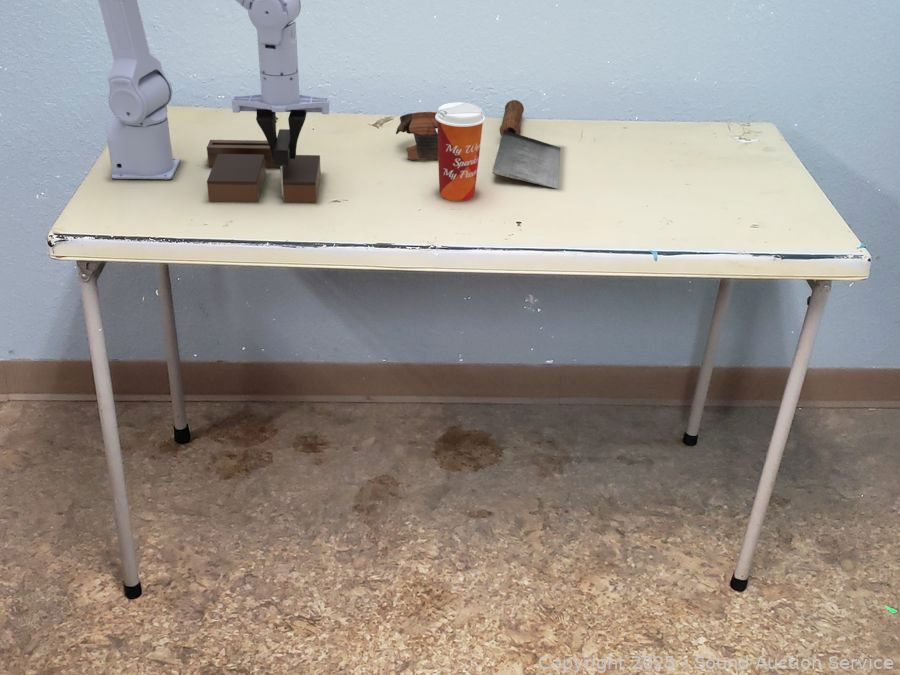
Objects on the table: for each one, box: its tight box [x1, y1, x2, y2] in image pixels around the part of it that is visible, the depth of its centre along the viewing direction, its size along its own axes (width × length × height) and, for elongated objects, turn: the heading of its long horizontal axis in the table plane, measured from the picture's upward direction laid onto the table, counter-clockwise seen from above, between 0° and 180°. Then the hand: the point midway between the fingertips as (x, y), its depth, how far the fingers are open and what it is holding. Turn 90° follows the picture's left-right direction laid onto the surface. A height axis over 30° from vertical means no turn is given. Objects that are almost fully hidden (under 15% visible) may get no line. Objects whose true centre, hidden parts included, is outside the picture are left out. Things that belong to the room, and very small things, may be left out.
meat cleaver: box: [491, 99, 562, 190], centre depth 170 cm, size 34×11×4 cm, turn 174°
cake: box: [206, 154, 267, 203], centre depth 151 cm, size 8×11×4 cm
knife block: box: [206, 139, 280, 169], centre depth 160 cm, size 12×4×4 cm, turn 93°
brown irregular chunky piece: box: [395, 111, 438, 161], centre depth 167 cm, size 12×10×8 cm
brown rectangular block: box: [283, 154, 322, 204], centre depth 152 cm, size 5×11×4 cm, turn 3°
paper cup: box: [435, 102, 486, 202], centre depth 149 cm, size 8×8×14 cm
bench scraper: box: [273, 128, 291, 199], centre depth 150 cm, size 10×2×8 cm, turn 3°
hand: (284, 156), depth 150 cm, fingers closed on bench scraper, 2 cm apart
